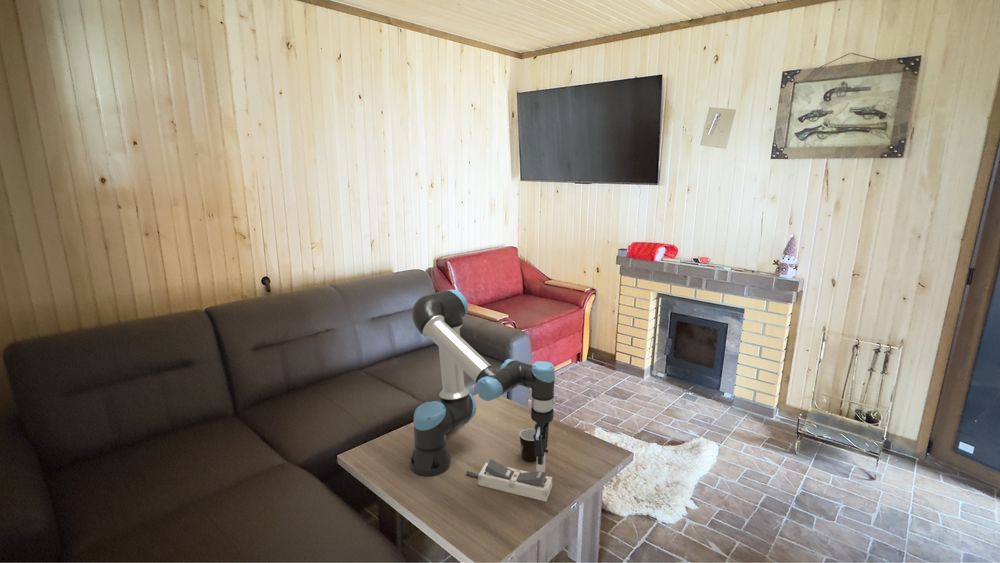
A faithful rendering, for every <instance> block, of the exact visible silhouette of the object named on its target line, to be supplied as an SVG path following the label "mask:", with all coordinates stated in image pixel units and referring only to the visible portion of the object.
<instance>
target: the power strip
mask: <svg viewBox="0 0 1000 563" xmlns="http://www.w3.org/2000/svg"><path fill="white" fill-rule="evenodd" d="M488 463H489V462H487V461H486V462H485V464H484V465H483V466H482V469H481V470H480V471H479V473H478V472H473V471H469V470H467V471H466V474H465V475H466V476H469V477H474V478H477V485H478V486H481V487H484V488H489V489H493V490H496V491H501V492H504V493H510V494H513V495H517V496H522V497H526V498H529V499H535V500H538V501H542V502H545V503H546V502H547V501H548V498H549V496H550V493H551V491H552V489H553V477H552V476H548V475H546V478H545V480H544V482H543V484H540V485H529V484H524V483H520V482H517V480H518V478H519V476H520V474H521V473H526V472H528V471H526V470H522V469H517V468H513V467H507V466H506V467H507V468H508V469H510V470H512V471H513V473H512V476H511V478H510V479H509V480H508V479H503V478H499V477H495V476H494V475H492V474H490V473H488V472H486V471H485V469H486V466H487V465H488Z"/></svg>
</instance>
